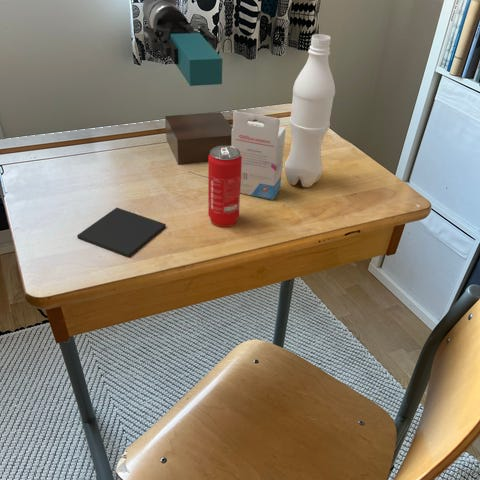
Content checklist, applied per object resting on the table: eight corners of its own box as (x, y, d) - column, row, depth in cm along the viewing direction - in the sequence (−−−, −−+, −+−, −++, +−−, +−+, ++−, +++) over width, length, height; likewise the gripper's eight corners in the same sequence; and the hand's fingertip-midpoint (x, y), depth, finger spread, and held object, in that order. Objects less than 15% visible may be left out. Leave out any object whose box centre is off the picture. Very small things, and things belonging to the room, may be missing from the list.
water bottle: (278, 185, 96) (294, 39, 79) (288, 169, 102) (304, 28, 85) (315, 193, 95) (339, 45, 78) (323, 176, 100) (347, 34, 83)
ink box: (280, 188, 96) (289, 108, 86) (273, 201, 92) (281, 119, 82) (238, 179, 98) (241, 100, 88) (229, 191, 94) (231, 110, 84)
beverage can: (210, 229, 85) (211, 160, 76) (206, 212, 88) (206, 145, 80) (241, 226, 86) (245, 158, 77) (235, 210, 89) (238, 144, 81)
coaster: (77, 238, 81) (77, 235, 81) (117, 210, 88) (116, 207, 87) (129, 257, 78) (128, 254, 77) (165, 227, 84) (165, 223, 84)
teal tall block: (169, 55, 106) (168, 31, 103) (197, 54, 107) (197, 30, 104) (190, 86, 93) (189, 59, 90) (221, 84, 94) (222, 58, 91)
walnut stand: (166, 139, 109) (165, 116, 106) (220, 134, 112) (220, 111, 109) (178, 164, 101) (177, 140, 98) (236, 158, 104) (237, 134, 101)
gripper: (210, 42, 120) (239, 74, 104) (128, 44, 115) (145, 78, 99) (210, 5, 115) (241, 32, 99) (124, 6, 110) (142, 35, 94)
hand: (193, 55), depth 99 cm, fingers closed on teal tall block, 6 cm apart
